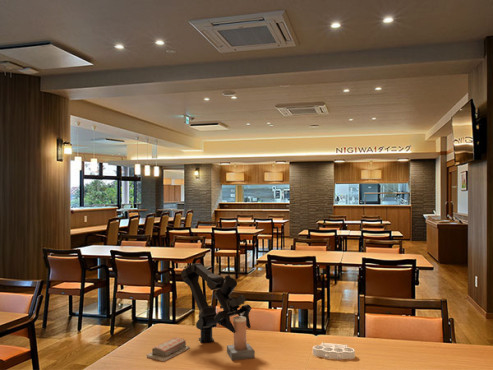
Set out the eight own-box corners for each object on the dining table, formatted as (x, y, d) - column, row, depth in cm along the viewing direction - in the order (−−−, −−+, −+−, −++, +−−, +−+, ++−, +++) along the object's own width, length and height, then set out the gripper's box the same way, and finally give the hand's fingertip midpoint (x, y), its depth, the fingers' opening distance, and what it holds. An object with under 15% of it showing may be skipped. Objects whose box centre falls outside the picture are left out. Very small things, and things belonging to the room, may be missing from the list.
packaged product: (172, 335, 204) (189, 338, 199) (172, 345, 204) (189, 349, 199) (146, 347, 189) (164, 351, 184) (146, 358, 188) (164, 362, 184)
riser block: (226, 352, 194) (226, 345, 194) (248, 349, 197) (248, 343, 197) (232, 360, 184) (231, 353, 184) (254, 357, 187) (254, 350, 187)
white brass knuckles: (355, 350, 196) (354, 363, 182) (314, 347, 200) (311, 359, 186) (355, 343, 196) (354, 355, 182) (314, 340, 200) (311, 351, 186)
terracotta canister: (234, 345, 193) (233, 316, 194) (246, 345, 193) (246, 316, 194) (233, 350, 188) (233, 319, 188) (246, 350, 188) (245, 319, 188)
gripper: (218, 293, 187) (236, 324, 179) (248, 286, 201) (266, 315, 192) (206, 308, 193) (223, 339, 185) (236, 300, 206) (253, 329, 198)
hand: (242, 330), depth 190 cm, fingers open, 9 cm apart
